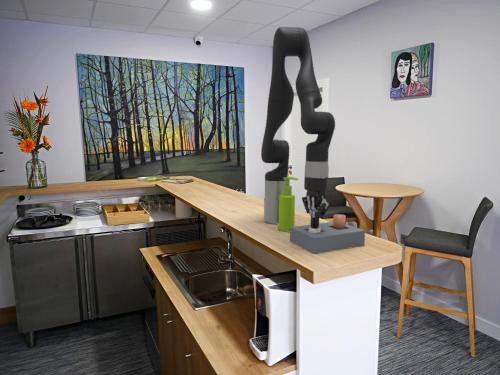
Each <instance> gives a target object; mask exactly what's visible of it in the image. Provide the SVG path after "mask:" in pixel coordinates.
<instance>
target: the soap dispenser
mask: <svg viewBox="0 0 500 375" xmlns="http://www.w3.org/2000/svg"><path fill="white" fill-rule="evenodd" d="M283 180H285V185H284V186H283V194H282V195H279V224H278V230H279V231H280V232H286V233H287V232H289V233H290V227H294V226H295V214H296V213H295V210H296V196H295V194H293V192H292V191H293V187H292V186H291V185H290V184H291V183H290V182H291V181H290V180H293V181H298V180H299V178H297V177H293V176H292V177H291V176H290V177H289V176H288V177H284V178H283Z"/></svg>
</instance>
